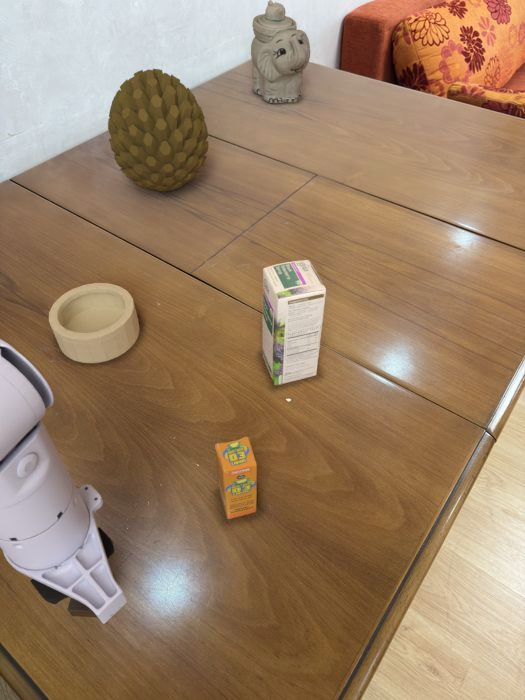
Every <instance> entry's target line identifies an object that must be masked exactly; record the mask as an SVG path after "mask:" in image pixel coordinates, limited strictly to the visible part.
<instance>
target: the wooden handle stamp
mask: <svg viewBox="0 0 525 700" xmlns="http://www.w3.org/2000/svg"><path fill="white" fill-rule="evenodd" d="M113 577H114V579H115V581H116V583H117V582H118V580H117V578H116V577H115V575H114V574H113ZM67 611H68V613H69V614H70V615H71V617H79V618H80V617H81V618H98V617H97V616H96V614H95V613H94V612H93V611H92V610H91V609H90V608H89V607H87V606H86V605H85V604H83V603H81V602H79V601H78V600H76V599H74V598H70V600H69V603H68V607H67ZM98 619H99V618H98Z"/></svg>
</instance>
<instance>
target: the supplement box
mask: <svg viewBox="0 0 525 700" xmlns="http://www.w3.org/2000/svg"><path fill="white" fill-rule="evenodd" d="M214 449H215V456H216V465H217V473H218V475H217V476H218V483H219V496H220V498H221V503H222V505H223V509H224V512H225V516H226V518H227V520H231V519H236V518H239V517H242V516H246V515H247V516H248V515H250V514H253V513H257V502H258V501H257V500H258V499H257V498H258V497H257V496H258V487H257V486H258V481H257V480H258V464H257V461H256V458H255V454H254V450H253V447H252V443H251V439H250V438H249V437H248V436H244V437H241V438H240V439H235V440H232V441H227V442H218V443H215V444H214Z"/></svg>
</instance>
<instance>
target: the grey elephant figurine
mask: <svg viewBox="0 0 525 700" xmlns="http://www.w3.org/2000/svg"><path fill="white" fill-rule="evenodd" d="M297 28H298V27H297V22H296V20H294V19H293V18H292V17H290V16H286V8H285V6H284V5H283V4H282V3H279V2H277V1H274V2H273V0H268V2H267V6H266V8H265V13H262V14H258V15H256V16H254V17H253V19H252V31H253V35H254V37H253V39H252V41H251V45H250V56H251V61H252V69H251V77H252V80H253V81H252V91H253V92H254V93H255V94H257V95H259V96H262V99H263V100H264V101H266V102H267V103H270V104H282V103H297V102H298V101H299V100H300V99H301V87H302V85H303V71H304V70H305V69H306V68H307V67H308V64H309V62H310V59H311V46H310V40H309V36H308V35H307V32H305V31H304V30H302V29H297ZM260 92H261V93H260ZM298 95H300V96H299V97H298ZM296 97H297V98H296ZM283 98H295V99H283ZM268 99H269V100H268ZM278 99H281V100H278Z"/></svg>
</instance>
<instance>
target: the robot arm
mask: <svg viewBox="0 0 525 700" xmlns="http://www.w3.org/2000/svg"><path fill="white" fill-rule="evenodd" d="M54 402H55V397H54V393H53V391H52V388H51V386H50V385H49V383H48V382H47V380H46V379H45V377H44V376H43V375H42V373H41V372H40V371H39V370H38V369H37V367H36V366H35V365H33V363H32V362H31V361H29V359H28V358H26V357H25V356H24V355H23V354H22V353H20V352H19V351H18V350H16V348H15V347H13V346H12V345H11V344H10V343H8V342H7V341H5V340H3V339H2V338H0V549H1V550H2V552H3V555H4V557H5V559H6V561H7V562H8V563H9V564H10V566H11V567H12V568H13V569H15V570H16V571H17V572H19V573H20V574H23V575H24V576H26V577H28V578H31V579H30V580H29V582H30V584H32V586H33V587H34V589H35V590H36V591H37V592H38V594H39V595H40V597H41V598H42V599H43V600H44V601H45V602H46V603H49V604H52V605H57V604H58V603H60V602H61V601H63V600H65V599H67V598H70V599H71V598H74V599H76V600H78V601H79V602H81V603H83V604H85V605H86V606H87V607H89V608H90V609H91V610H92V611H93V612H94V613H95V614H96V616H97V617H98V620H99V621H100V622H101V623H102V624H103V625H104V624H106V623H107V622H108V621H109V620H110V619H112V617H114V616H115V615H116V614H117V613H118V612H119V611H120V610H121V609H122V608H123V607H124V606H125V605H126V604H127V603H128V602H129V599H128V598H127V596H126V594H125V592H124V590H123V589H122V588H121V587H120V585H119V584H118V583H117V582H116V581H115V579H114V577H115V576H114V577H113V575H114V573H113V572H112V569H111V566H110V563H109V559H110V558H111V556H113V554H115V545H114V542H113V540H112V539H111V538H110V536H109V535H108V534H107V533H106V532H105V531H104V530H103V529H102V528H101V527H98V525H97V521H96V518H95V514H96V512H97V511H98V510H99V509H100V508H101V507H102V506H104V505H103V504H104V500H103V498H102V495H101V494H100V493H99V492H98V491H97V490H96V489H95V488H94V486H92V485H91V484H89V483H86V484H85V483H84V484H83V485H81V486H80V487H79V488H78V487H77V485H76V484H75V482H74V480H73V478H72V476H71V474H70V472H69V470H68V468H67V466H66V465H65V463H64V461H63V459H62V457H61V455H60V453H59V451H58V449H57V448H56V446H55V444H54V442H53V440H52V437H51V436H50V434H49V432H48V431H47V428H46V426H45V424H44V422H43V420H42V419H43V418H44V417H45V415H46V412H47V410H46V409H49V408H51V407H52V406H53V405H54ZM97 617H96V618H97Z"/></svg>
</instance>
